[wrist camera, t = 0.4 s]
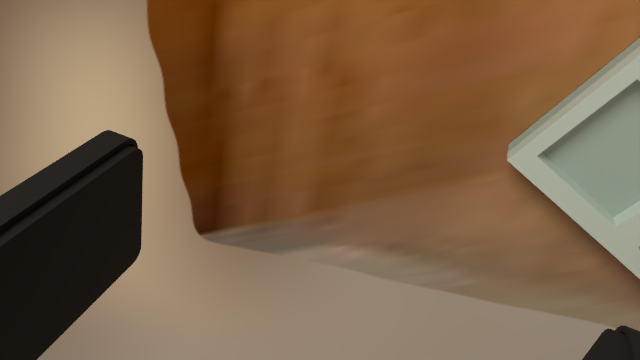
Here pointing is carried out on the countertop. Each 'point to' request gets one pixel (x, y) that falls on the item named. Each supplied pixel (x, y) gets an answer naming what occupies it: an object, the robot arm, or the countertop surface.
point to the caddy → (593, 156)
